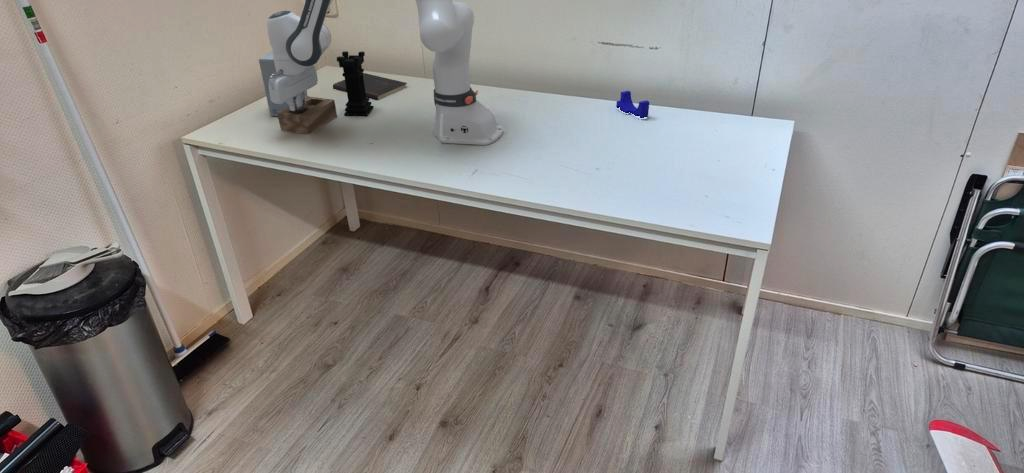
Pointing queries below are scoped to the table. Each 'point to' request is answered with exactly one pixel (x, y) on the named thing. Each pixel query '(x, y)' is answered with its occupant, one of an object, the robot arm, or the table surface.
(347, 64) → the chess piece
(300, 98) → the pin
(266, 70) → the hard drive box
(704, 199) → the table surface
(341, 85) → the hardcover book
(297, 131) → the bore block
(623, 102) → the cable clip
